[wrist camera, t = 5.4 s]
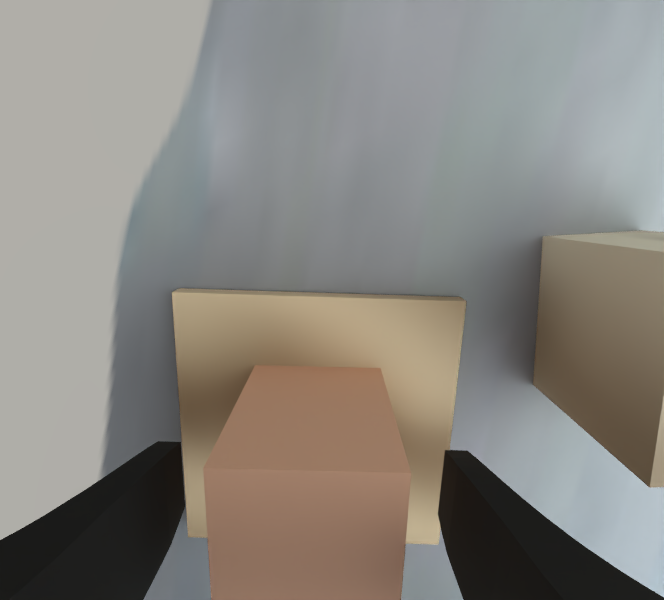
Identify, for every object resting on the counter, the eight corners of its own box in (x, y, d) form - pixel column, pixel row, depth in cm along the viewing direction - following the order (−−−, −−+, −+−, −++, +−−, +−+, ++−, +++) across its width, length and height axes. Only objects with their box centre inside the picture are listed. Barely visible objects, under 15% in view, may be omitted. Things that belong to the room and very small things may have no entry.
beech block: (532, 384, 13) (621, 379, 13) (649, 487, 8) (792, 480, 8) (542, 236, 12) (639, 230, 12) (685, 254, 7) (850, 244, 7)
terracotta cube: (374, 476, 13) (398, 633, 8) (257, 474, 13) (213, 629, 8) (380, 367, 12) (411, 472, 7) (255, 364, 12) (202, 468, 7)
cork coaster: (434, 530, 14) (438, 544, 14) (194, 523, 14) (188, 537, 14) (460, 297, 12) (466, 301, 12) (179, 288, 12) (171, 292, 12)
